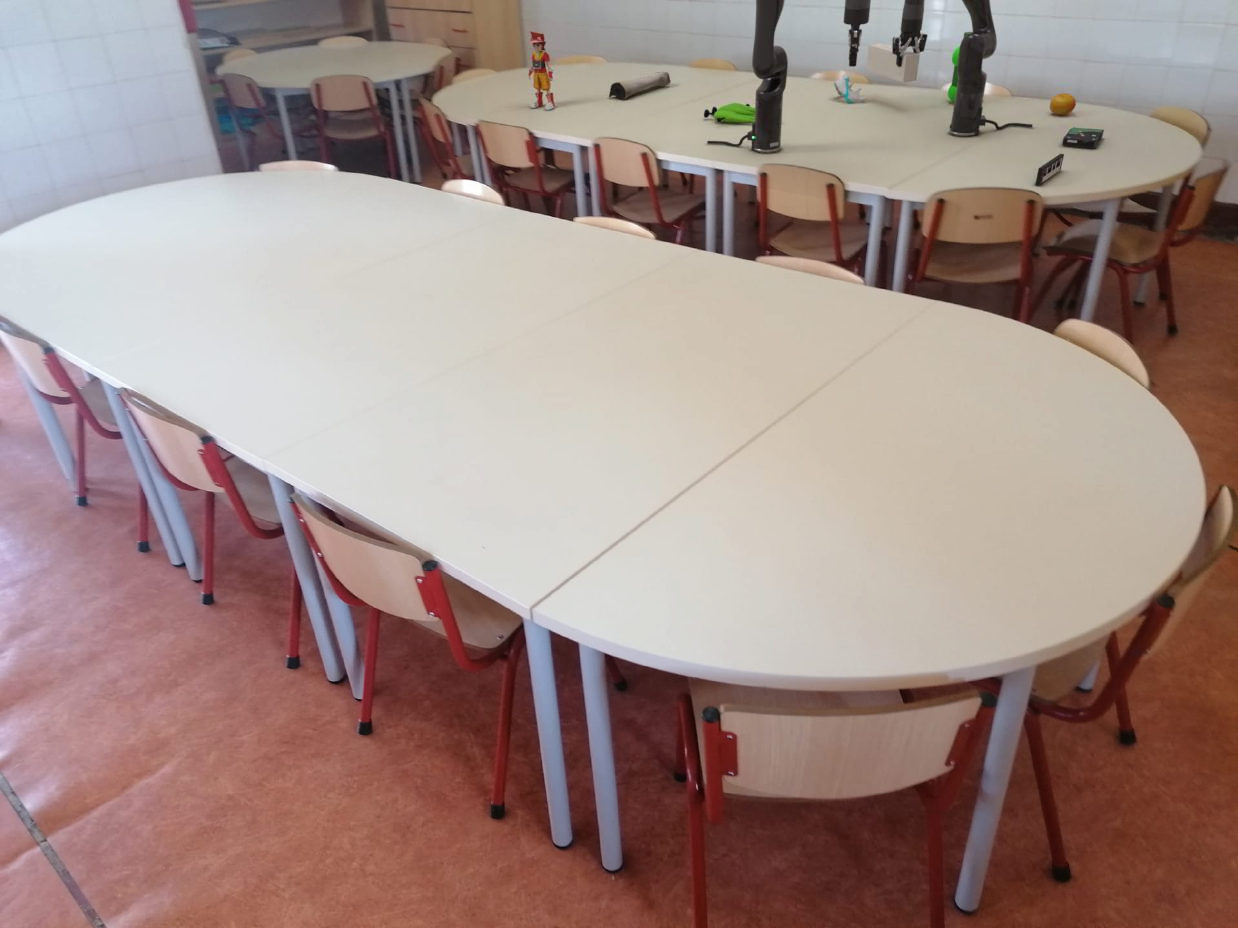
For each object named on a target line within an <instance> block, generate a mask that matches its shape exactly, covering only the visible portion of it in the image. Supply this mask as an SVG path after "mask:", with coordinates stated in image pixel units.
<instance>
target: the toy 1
mask: <svg viewBox="0 0 1238 928" xmlns="http://www.w3.org/2000/svg"><path fill="white" fill-rule="evenodd" d="M529 33H530V35H531V36H528V37H527V38H528V39H529V40H528V41H527V43H529V44H530V43H531V44H532V48H533V50H534V51H533V52H532V55H531V58H530V59H531V63H530V66H528V74H527V75H528V76H527V77H528V79H529V80H531V75H532V74H533V84H532V85H533V86H532V87H533V88H534V89H535V90H536V92H534V95H535V97H536V100H535V101H533V102H531V105H530V108H531V109H535V108H538V107H542V106H544V101H543V100H544V99H543V95H544V92H546V94H545V97H546V99H547V103H546V104H545V106H544V110H546V111H549V110H553V109H554V107H555V106H556V105H555V99H554V92H551V91H550V90H551V86H552V84H551V82H552V81H553V80H554V77H553V73H554V71H555V70H554V69H552V68H551V63H550V61H551V59H550V58H551V57H550V54H549V53H548V52H547V50H546V48H545V46H546V44H547V41H545V35H544V33H543V32H542V33H539V32H535V31H529Z"/></svg>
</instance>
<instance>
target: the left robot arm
mask: <svg viewBox="0 0 1238 928" xmlns="http://www.w3.org/2000/svg"><path fill="white" fill-rule="evenodd" d="M785 1H786V0H755V25H754V27H755V28H754V39H753V49H752V56H751V57H752V58H751V68H752V71H753V74H754V75H755V76H756V78H758V79H760V80H762V81H761V83H760V84H759V86H758V87H757V88H756V90H755V99H754V103H755V105H754V108H755V115H754V116H755V121H753V122H752V123H751V130H750V131H748V132H747V134H745V135H743V136H742V137H741V138H740V140H739V142H738V143H733V142H729V141H726V140H725V141H723V140H707V141H706V143H707V145H708V144H709V145H727V146H730V147H735V148H738V147H740V146H742V144H743V142H744V140H745V139H747V141H750V142H751V149H750V150H751V151H754V152H757V153H761V154H772V153H777V152H779V151H781V148H782V145H781V144H782V143H781V141H782V124H783V123H782V122H783V103H784V101H783V100H784V92H785V90H786V86H787V78H788V68H789V67H788V65H789V59H788V54H787V52H786V50H785V48H783V47H782V46H780V45H775V34H776V29H777V26H778V23H779V21H780V19H781V16H782V12H783V10H784V6H785ZM871 1H872V0H844V12H843V24H845V25H848V26H850V29H848V33H847V35H848V48H849V51H848V66H849V67H853V68H854V67H857V63H858V61H857V60H858V53H859V51H860V49H859V47H860V46H861V38H862V35H863V28H860V27H861V25H866V24H868V23H869V21H870V13H871Z"/></svg>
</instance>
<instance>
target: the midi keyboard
mask: <svg viewBox="0 0 1238 928" xmlns="http://www.w3.org/2000/svg"><path fill="white" fill-rule="evenodd" d="M1064 157H1065V153H1059V154H1058V155H1056V156H1055V157H1052V159H1051V160H1049V161H1047V162H1045V164H1042V165H1041V166H1039V167H1038V169H1037V175H1036V179H1035V186H1040V185H1042V183H1044V182H1045V181H1047V180H1048V179H1049V178H1051V177H1052V176H1054V175H1055V174H1056V173H1058V172H1060V171H1061V170H1062V165H1063V161H1064Z"/></svg>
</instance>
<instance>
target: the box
mask: <svg viewBox="0 0 1238 928" xmlns="http://www.w3.org/2000/svg"><path fill="white" fill-rule="evenodd" d="M902 56H903V58H902V66H901V67H898V66H897V65H896V59H897V55H895V54H893V53H892V45H889V44H886V43H883V42H881V43H880V42H879V43H873V44H868V45H867V54H866V65H865V71H867V72H870V73H873V74H876V75H880V76H882V77H885V78H889V79H892V80H894V81H898V82H900V83H908V82H909V83H910V82H916V81H917V79H918V71H919V64H920V57H921V54H920V53H919V54H918V53H914V52H913V51H911V50H907V49H906V50H905V51H904V53H903V55H902Z"/></svg>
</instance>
